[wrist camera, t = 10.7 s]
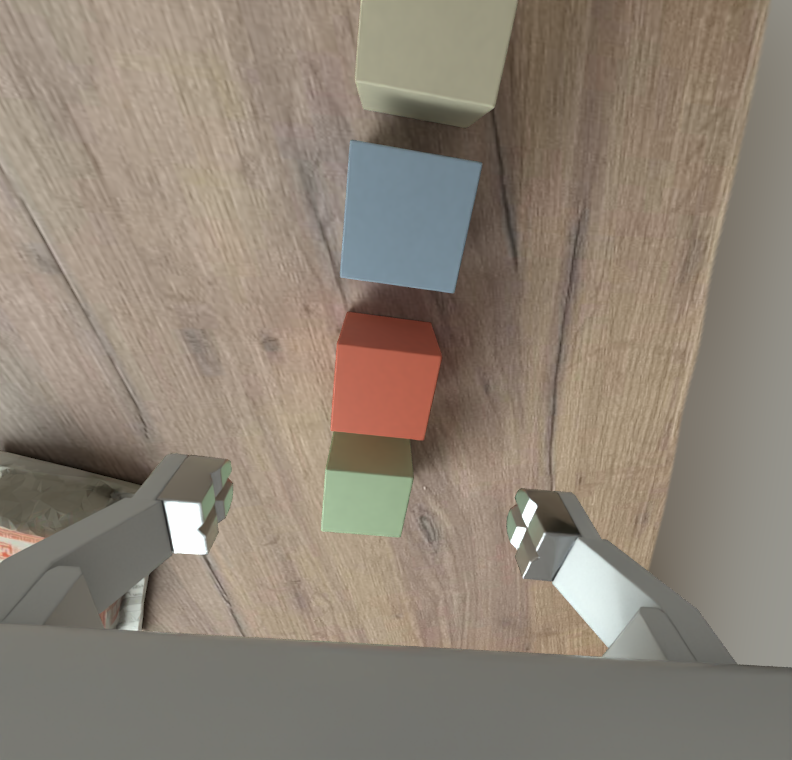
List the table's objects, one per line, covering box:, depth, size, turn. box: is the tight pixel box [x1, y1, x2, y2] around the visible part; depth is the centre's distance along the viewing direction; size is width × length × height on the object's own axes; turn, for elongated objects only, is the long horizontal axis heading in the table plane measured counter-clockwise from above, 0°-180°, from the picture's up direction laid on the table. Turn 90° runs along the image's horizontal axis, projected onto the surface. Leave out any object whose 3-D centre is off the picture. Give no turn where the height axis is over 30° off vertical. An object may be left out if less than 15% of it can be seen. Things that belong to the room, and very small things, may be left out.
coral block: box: [331, 312, 442, 440], centre depth 18 cm, size 4×4×4 cm
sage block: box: [321, 431, 414, 537], centre depth 22 cm, size 4×4×4 cm
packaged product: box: [0, 450, 149, 631], centre depth 25 cm, size 18×5×10 cm
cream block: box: [355, 0, 518, 128], centre depth 13 cm, size 4×4×4 cm
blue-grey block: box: [340, 140, 482, 293], centre depth 15 cm, size 4×4×4 cm
